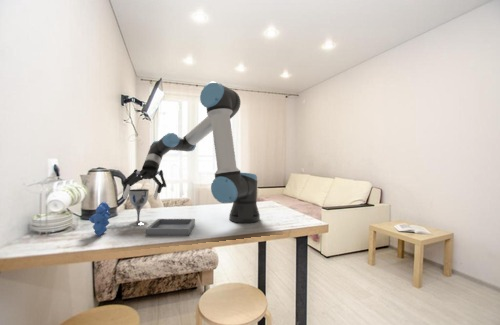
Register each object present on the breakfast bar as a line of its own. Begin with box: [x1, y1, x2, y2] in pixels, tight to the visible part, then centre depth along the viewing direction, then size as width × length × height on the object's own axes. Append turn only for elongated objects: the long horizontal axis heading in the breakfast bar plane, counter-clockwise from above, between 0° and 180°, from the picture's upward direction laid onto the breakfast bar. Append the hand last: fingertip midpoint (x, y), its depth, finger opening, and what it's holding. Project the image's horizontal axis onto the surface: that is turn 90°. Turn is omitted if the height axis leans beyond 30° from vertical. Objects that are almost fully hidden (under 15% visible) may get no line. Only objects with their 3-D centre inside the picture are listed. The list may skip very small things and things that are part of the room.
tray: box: [145, 218, 196, 237], centre depth 94 cm, size 16×15×3 cm
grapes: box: [88, 201, 111, 237], centre depth 86 cm, size 12×7×12 cm, turn 16°
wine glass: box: [128, 188, 150, 227], centre depth 101 cm, size 8×8×15 cm
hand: (139, 197), depth 104 cm, fingers open, 13 cm apart
